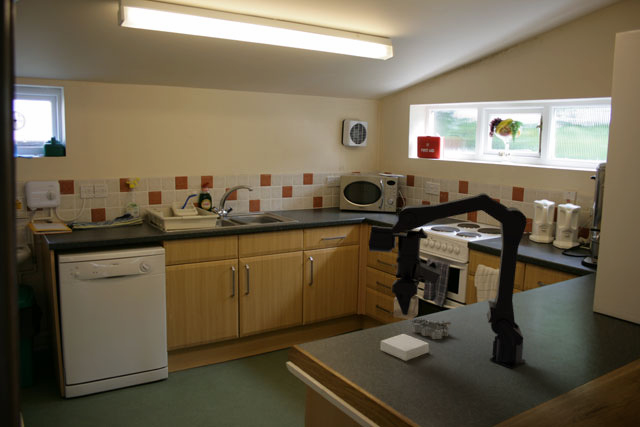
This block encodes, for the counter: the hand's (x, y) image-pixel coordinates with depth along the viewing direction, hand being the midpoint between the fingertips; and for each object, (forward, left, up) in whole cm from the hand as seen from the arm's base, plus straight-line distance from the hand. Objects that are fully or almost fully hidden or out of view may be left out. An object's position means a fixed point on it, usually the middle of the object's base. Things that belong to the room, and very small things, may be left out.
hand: (405, 311), depth 142 cm
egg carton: (+5, -16, -12) cm, 21 cm away
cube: (0, 0, -1) cm, 1 cm away
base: (0, 0, -11) cm, 11 cm away
